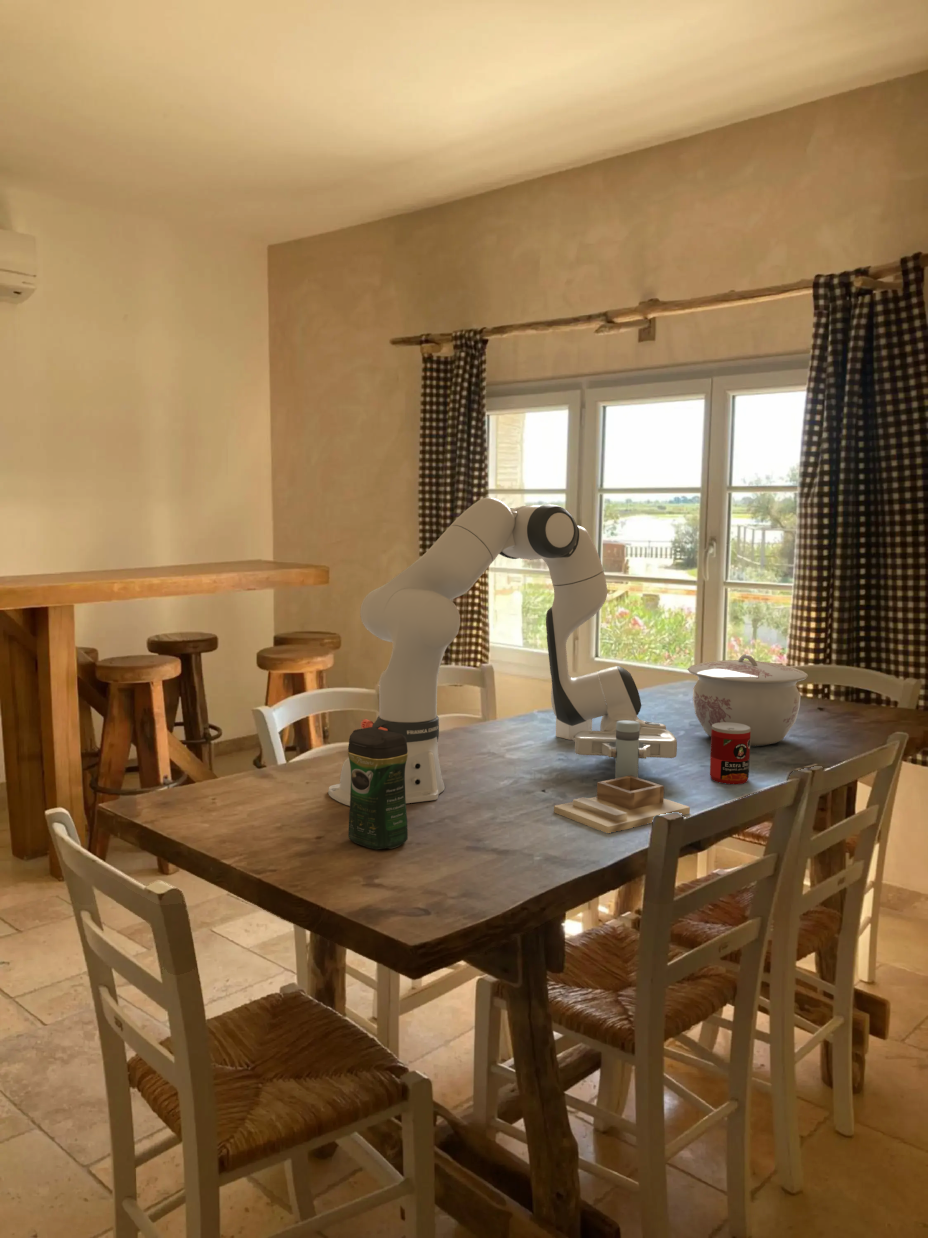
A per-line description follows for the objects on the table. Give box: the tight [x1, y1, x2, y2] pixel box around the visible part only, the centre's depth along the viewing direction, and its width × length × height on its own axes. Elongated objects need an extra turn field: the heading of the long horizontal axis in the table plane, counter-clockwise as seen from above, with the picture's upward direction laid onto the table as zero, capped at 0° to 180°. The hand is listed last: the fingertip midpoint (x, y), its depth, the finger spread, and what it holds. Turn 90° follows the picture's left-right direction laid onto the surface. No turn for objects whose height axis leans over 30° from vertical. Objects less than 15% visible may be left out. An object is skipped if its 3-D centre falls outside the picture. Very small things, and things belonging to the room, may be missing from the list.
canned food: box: [709, 722, 751, 785], centre depth 196 cm, size 8×8×11 cm
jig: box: [553, 775, 691, 834], centre depth 173 cm, size 20×14×4 cm
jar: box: [555, 716, 593, 741], centre depth 233 cm, size 9×8×12 cm
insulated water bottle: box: [614, 720, 640, 779], centre depth 189 cm, size 4×4×13 cm
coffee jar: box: [347, 727, 409, 850], centre depth 156 cm, size 10×8×19 cm
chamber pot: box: [687, 653, 809, 747], centre depth 230 cm, size 28×28×21 cm
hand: (627, 754), depth 188 cm, fingers closed on insulated water bottle, 4 cm apart
